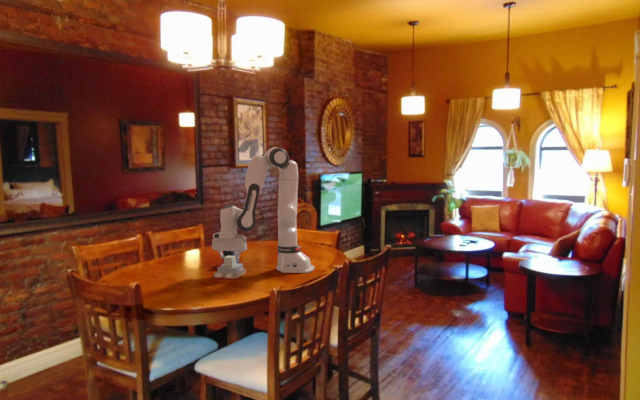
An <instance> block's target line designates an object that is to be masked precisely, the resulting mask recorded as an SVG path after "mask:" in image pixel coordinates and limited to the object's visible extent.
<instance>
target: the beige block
mask: <svg viewBox="0 0 640 400" xmlns="http://www.w3.org/2000/svg"><path fill="white" fill-rule="evenodd" d="M234 265H236V256H226V257H224V266H231V267H233V266H234Z"/></svg>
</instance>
